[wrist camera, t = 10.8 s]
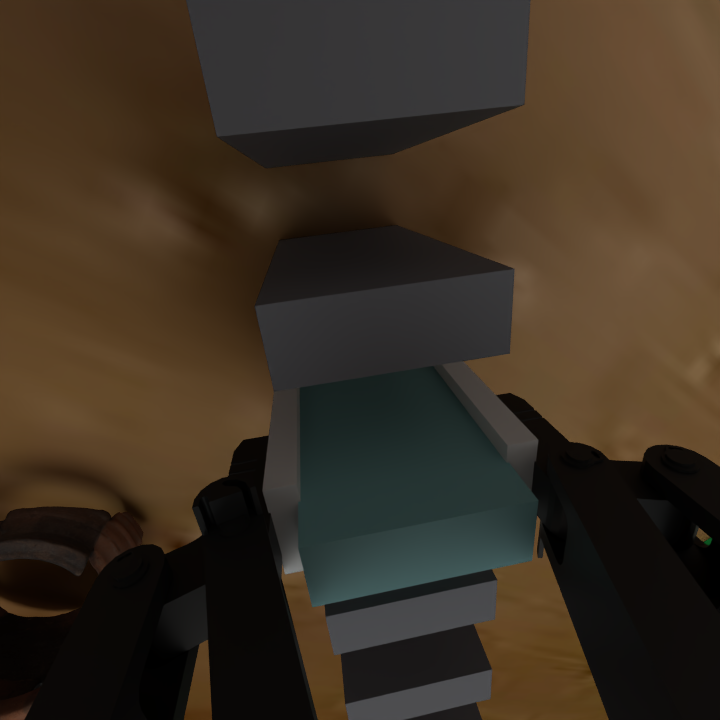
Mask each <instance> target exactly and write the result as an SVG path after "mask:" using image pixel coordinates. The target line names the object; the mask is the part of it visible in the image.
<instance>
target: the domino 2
mask: <svg viewBox="0 0 720 720" xmlns="http://www.w3.org/2000/svg"><path fill="white" fill-rule="evenodd" d="M513 286H514V269H513V268H511V267H508V266H505V265H503V264H500V263H497V262H495V261H492V260H489V259H486V258H484V257H481V256H478V255H476V254H473V253H470V252H468V251H465V250H462V249H460V248H457V247H454V246H451V245H449V244H446V243H443V242H441V241H438V240H435V239H433V238H430V237H427V236H425V235H422V234H419V233H416V232H414V231H411V230H408V229H406V228H403V227H400V226H398V225H394V226H386V227H379V228H371V229H363V230H355V231H348V232H340V233H332V234H324V235H317V236H309V237H301V238H293V239H286V240H279V242H278V245H277V248H276V250H275V253H274V256H273V258H272V261H271V264H270V266H269V269H268V272H267V274H266V277H265V280H264V282H263V285H262V288H261V290H260V293H259V296H258V298H257V301H256V304H255V310H256V314H257V318H258V323H259V327H260V332H261V336H262V340H263V345H264V349H265V354H266V358H267V362H268V367H269V371H270V376H271V380H272V384H273V389H274V392H275V391H282V390H288V389H294V388H300V387H306V386H312V385H319V384H325V383H331V382H337V381H343V380H349V379H356V378H362V377H368V376H374V375H380V374H386V373H393V372H399V371H405V370H411V369H417V368H423V367H430V366H436V365H442V364H448V363H454V362H460V361H466V360H473V359H479V358H485V357H491V356H497V355H503V354H510V338H511V321H512V304H513Z"/></svg>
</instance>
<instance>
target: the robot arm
mask: <svg viewBox="0 0 720 720" xmlns="http://www.w3.org/2000/svg"><path fill="white" fill-rule="evenodd" d="M434 368H435V369H436V370H437V372H438V373H439V374H440V376H441V377H442V378H443V380H444V381H445V382H446V384H447V385H448V386H449V388H450V389H451V390H452V392H453V393H454V394H455V395H456V397H457V398H458V399H459V401H460V402H461V403H462V405H463V406H464V407H465V409H466V410H467V411H468V413H469V414H470V415H471V417H472V418H473V419H474V421H475V422H476V423H477V424H478V426H479V427H480V428H481V430H482V431H483V432H484V434H485V435H486V436H487V438H488V439H489V440H490V442H491V443H492V444H493V446H494V447H495V448H496V449H497V451H498V452H499V453H500V455H501V456H502V457H503V459H504V460H505V461H506V463H508V462H509V463H510V464H511V466H512V467H513V468H514V469H515V471H516V472H517V473H518V475H519V476H520V477H521V479H522V480H523V481H524V482H525V484H526V485H527V486H528V488H529V489H530V490H531V491H532V493H533V494H534V495H535V497H536V498H537V499H538V510H537V516H538V517H539V518H540V529H539V537H538V546H537V554H538V558H542V557H543V549H544V548H545V550H546V553H547V556H548V558H549V561H550V564H551V566H552V569H553V572H554V574H555V577H556V580H557V582H558V585H559V588H560V590H561V593H562V596H563V598H564V601H565V604H566V606H567V609H568V612H569V614H570V617H571V620H572V622H573V625H574V628H575V630H576V633H577V636H578V638H579V641H580V644H581V646H582V649H583V652H584V654H585V657H586V660H587V662H588V665H589V668H590V670H591V673H592V676H593V678H594V681H595V684H596V686H597V689H598V692H599V694H600V697H601V700H602V702H603V705H604V708H605V710H606V713H607V716H608V718H609V720H720V467H719V466H718V465H716V464H715V463H713V462H712V461H710V460H709V459H707V458H706V457H704V456H702V455H700V454H698V453H696V452H695V451H692V450H689V449H686V448H683V447H679V446H674V445H655V446H652V447H650V448H648V449H647V450H646V452H645V453H644V457H643V461H642V462H637V461H615V460H609V459H608V458H607V457H606V456H605V455H604V454H603V453H602V452H601V451H599V450H597V449H595V448H593V447H591V446H588V445H585V444H581V443H574V442H569V441H568V440H567V439H566V438H565V437H564V436H563V435H562V434H561V433H560V432H558V431H557V430H556V429H555V428H554V427H553V426H552V425H551V424H550V423H549V422H548V421H547V420H546V419H545V418H542V416H541V415H540V414H539V413H538V412H537V411H536V410H535V411H534V408H533V407H532V406H531V405H529V404H528V403H527V402H526V401H525V400H524V399H522V398H520V397H518V396H515V395H513V394H511V393H507V394H501V395H495V394H494V393H493V392H492V391H491V390H490V389H489V388H488V387H487V386H486V385H485V384H484V382H483V381H482V380H481V379H480V378H479V377H478V376H477V375H476V374H475V373H474V372H473V371H472V370H471V369H470V368H469V367H468V366H467V365H466V364H465V363H464V362H463V361H460V362H454V363H448V364H442V365H436V366H434ZM300 501H301V500H300V388H294V389H288V390H282V391H275V392H274V397H273V405H272V413H271V422H270V430H269V436H263V437H258V438H252V439H246V440H243V441H242V442H241V443H240V445H239V446H238V447H237V448H236V450H235V451H234V454H233V458H232V462H231V466H230V470H229V476H228V477H225V478H221V479H219V480H217V481H215V482H212V483H210V484H209V485H208V486H206V487H205V488H204V489H203V490H201V491H200V493H199V494H198V495H197V497H196V498H195V499H194V503H193V507H192V509H193V512H194V514H195V517H196V519H197V522H198V525H199V527H200V530H201V533H202V536H200V537H199V538H198V539H196V540H194V541H193V542H191V543H189V544H187V545H185V546H182V547H180V548H178V549H176V550H173V551H171V552H169V553H167V554H164V552H163V550H162V549H161V548H160V547H158V546H156V545H153V544H149V545H140V546H137V547H134V548H131V549H128V550H126V551H125V552H123V553H121V554H120V555H118V556H116V557H115V558H114V559H113V560H112V561H111V562H109V563H108V564H107V565H106V566H105V567H104V568H103V570H102V571H101V572H100V574H99V575H98V577H97V578H96V580H95V582H94V584H93V586H92V588H91V590H90V592H89V594H88V595H87V597H86V599H85V601H84V603H83V605H82V607H81V609H80V611H79V613H78V615H77V617H76V619H75V621H74V623H73V625H72V627H71V629H70V631H69V633H68V635H67V637H66V639H65V641H64V643H63V645H62V647H61V649H60V651H59V652H58V654H57V656H56V658H55V660H54V662H53V664H52V666H51V668H50V670H49V672H48V674H47V676H46V678H45V680H44V682H43V684H42V686H41V688H40V690H39V692H38V694H37V696H36V698H35V700H34V702H33V704H32V706H31V707H30V709H29V711H28V713H27V715H26V717H25V719H24V720H184V715H185V710H186V706H187V701H188V696H189V691H190V686H191V682H192V677H193V672H194V667H195V662H196V658H197V653H198V648H199V644H200V643H202V642H204V641H206V640H208V646H209V666H210V685H211V705H212V720H318V719H317V715H316V711H315V708H314V704H313V700H312V696H311V692H310V688H309V684H308V680H307V676H306V672H305V668H304V664H303V660H302V656H301V653H300V649H299V645H298V641H297V637H296V633H295V629H294V625H293V621H292V617H291V613H290V609H289V605H288V601H287V598H286V594H285V590H284V586H283V583H282V579H281V574H282V564H283V568H284V571H285V574H289V573H294V572H299V571H304V570H303V566H302V562H301V558H300V554H299V550H298V502H300ZM698 528H700V529H702V530H703V531H704V532H705V533H706V534H707V535H709V536H710V537H711V538H712V541H711V544H710V545H707V544H705V543H704V542H703V541H701V540H700V539H699V538H698V537H697V536H696V534H697V531H698Z"/></svg>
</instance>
